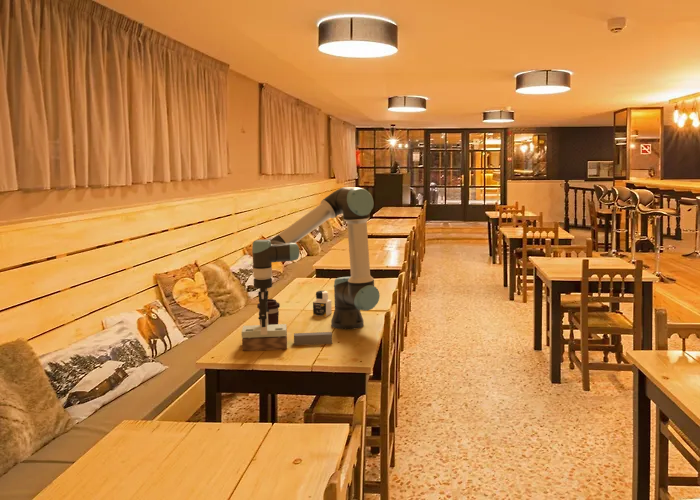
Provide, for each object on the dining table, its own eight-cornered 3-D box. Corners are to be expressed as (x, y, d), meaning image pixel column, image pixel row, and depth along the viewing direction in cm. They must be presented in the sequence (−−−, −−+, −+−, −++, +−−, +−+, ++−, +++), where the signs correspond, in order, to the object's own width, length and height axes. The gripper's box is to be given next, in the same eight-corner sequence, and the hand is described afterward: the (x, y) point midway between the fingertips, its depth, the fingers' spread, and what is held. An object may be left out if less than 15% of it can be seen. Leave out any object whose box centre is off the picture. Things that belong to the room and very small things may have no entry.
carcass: (287, 341, 275) (286, 323, 274) (286, 349, 263) (286, 330, 262) (244, 342, 273) (243, 324, 272) (242, 351, 261) (241, 332, 260)
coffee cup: (276, 336, 283) (275, 303, 281) (255, 335, 285) (253, 302, 283) (283, 330, 292) (282, 298, 290) (262, 329, 294) (261, 297, 292)
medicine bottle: (313, 315, 320) (312, 292, 319) (319, 312, 327) (318, 289, 325) (326, 316, 317) (325, 293, 316) (331, 313, 324) (331, 290, 322)
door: (286, 329, 270) (286, 321, 270) (286, 336, 261) (286, 327, 260) (243, 331, 269) (243, 323, 268) (241, 337, 259) (241, 329, 259)
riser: (331, 341, 274) (331, 331, 274) (332, 343, 270) (332, 334, 270) (294, 342, 273) (293, 333, 272) (294, 345, 269) (293, 335, 268)
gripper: (254, 273, 272) (256, 324, 275) (251, 283, 250) (253, 338, 253) (272, 272, 273) (274, 323, 276) (271, 282, 251) (273, 337, 254)
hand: (264, 330), depth 265 cm, fingers closed on door, 10 cm apart
